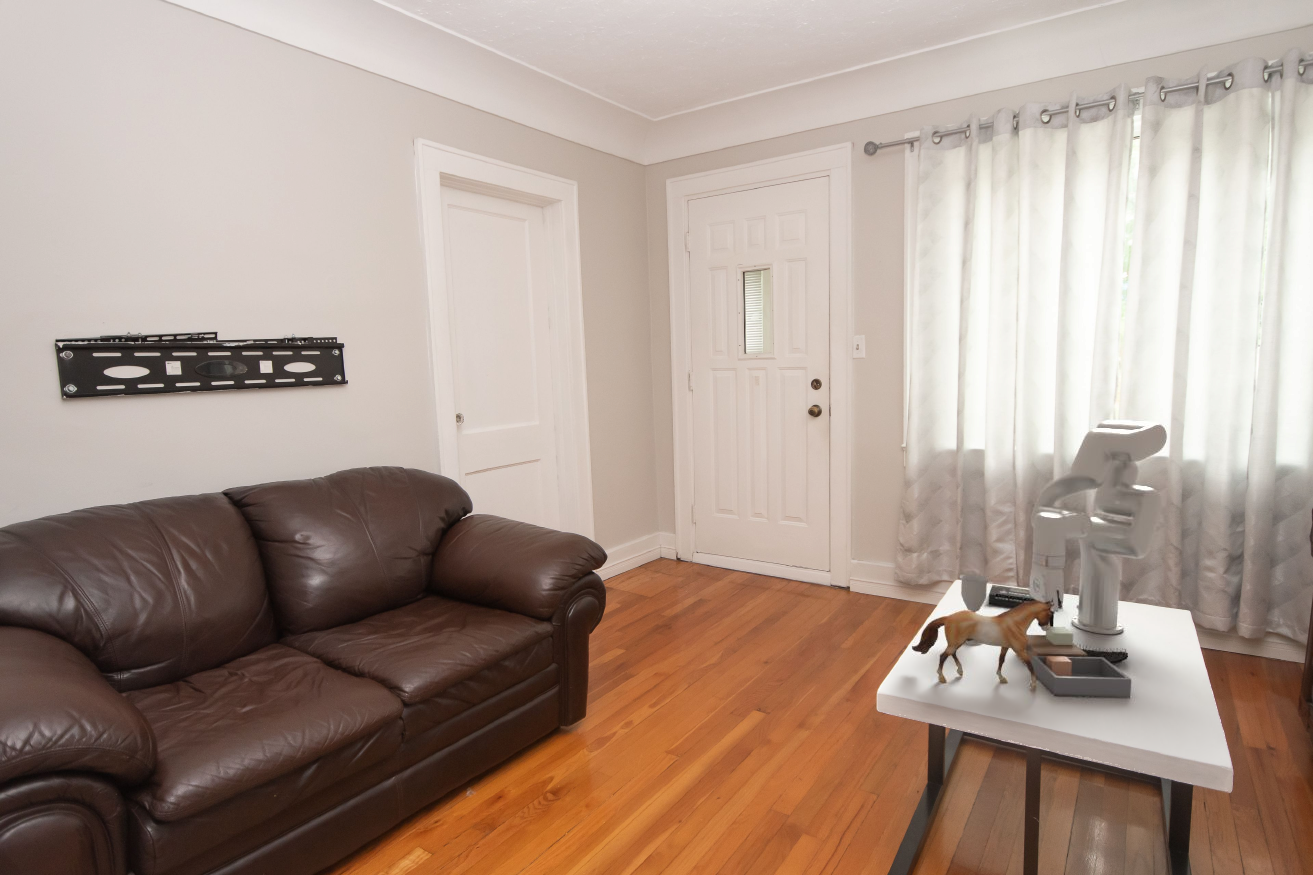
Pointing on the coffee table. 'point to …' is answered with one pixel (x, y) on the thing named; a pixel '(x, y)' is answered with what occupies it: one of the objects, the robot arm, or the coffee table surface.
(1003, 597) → the wireless router
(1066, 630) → the pale green cube
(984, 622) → the horse figurine
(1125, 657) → the hairbrush
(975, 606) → the chalice
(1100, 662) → the box
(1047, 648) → the brown square platform
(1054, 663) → the peach cube block
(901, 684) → the coffee table surface
